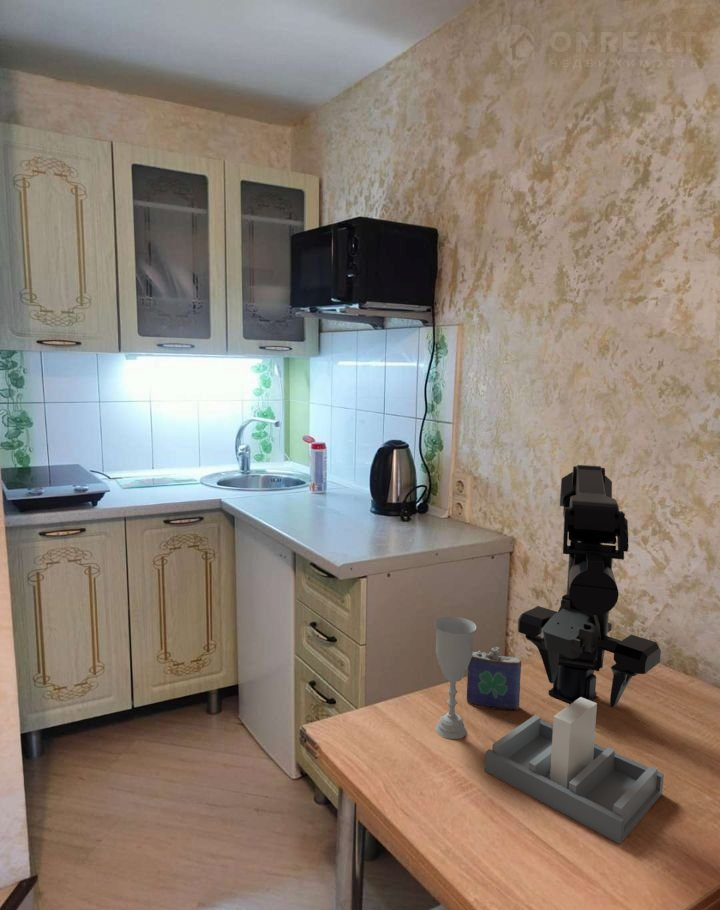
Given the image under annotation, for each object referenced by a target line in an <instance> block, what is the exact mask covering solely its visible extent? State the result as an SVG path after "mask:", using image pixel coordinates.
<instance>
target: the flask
mask: <svg viewBox="0 0 720 910" xmlns="http://www.w3.org/2000/svg"><path fill="white" fill-rule="evenodd" d="M499 653H500V647H497V646H494V647H491V651H489V652H487V653H486V652H484V651H483V652H482V651H481V649H480V650H478V651H472V658H471V661H470V663H469V666H468V668H467V676H466V677H467V681H466V683H467V684H466V702H467V704H469V705H471V706H474V707H479V708H484V709H494V710H497V711H498V710H499V711H507V712H512V711H514V712H515V711H518V710H519V708H520V700H521V699H520V698H521V697H520V693H521V677H522V676H521V674H522V660H521V659H519V658H518V657H515V656H503V655H500V654H499Z"/></svg>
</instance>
